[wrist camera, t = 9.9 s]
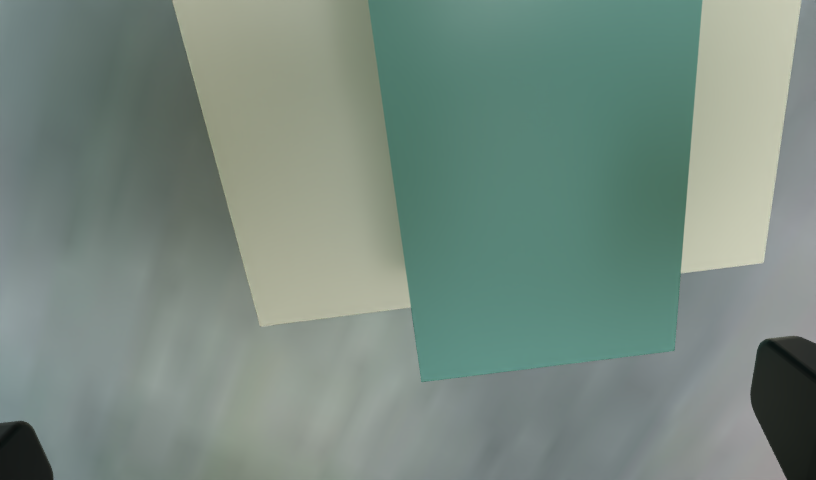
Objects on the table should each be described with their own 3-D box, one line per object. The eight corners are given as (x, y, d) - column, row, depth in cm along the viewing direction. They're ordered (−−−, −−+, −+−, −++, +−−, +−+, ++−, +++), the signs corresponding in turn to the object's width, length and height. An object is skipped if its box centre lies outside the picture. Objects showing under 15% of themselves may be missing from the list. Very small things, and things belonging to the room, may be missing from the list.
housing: (612, -247, 14) (727, -319, 9) (604, 245, 19) (674, 350, 14) (345, -210, 14) (330, -264, 9) (410, 270, 19) (421, 382, 15)
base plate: (738, 239, 21) (763, 263, 19) (267, 299, 21) (260, 326, 20) (807, -326, 14) (851, -350, 13) (130, -232, 15) (105, -245, 13)
